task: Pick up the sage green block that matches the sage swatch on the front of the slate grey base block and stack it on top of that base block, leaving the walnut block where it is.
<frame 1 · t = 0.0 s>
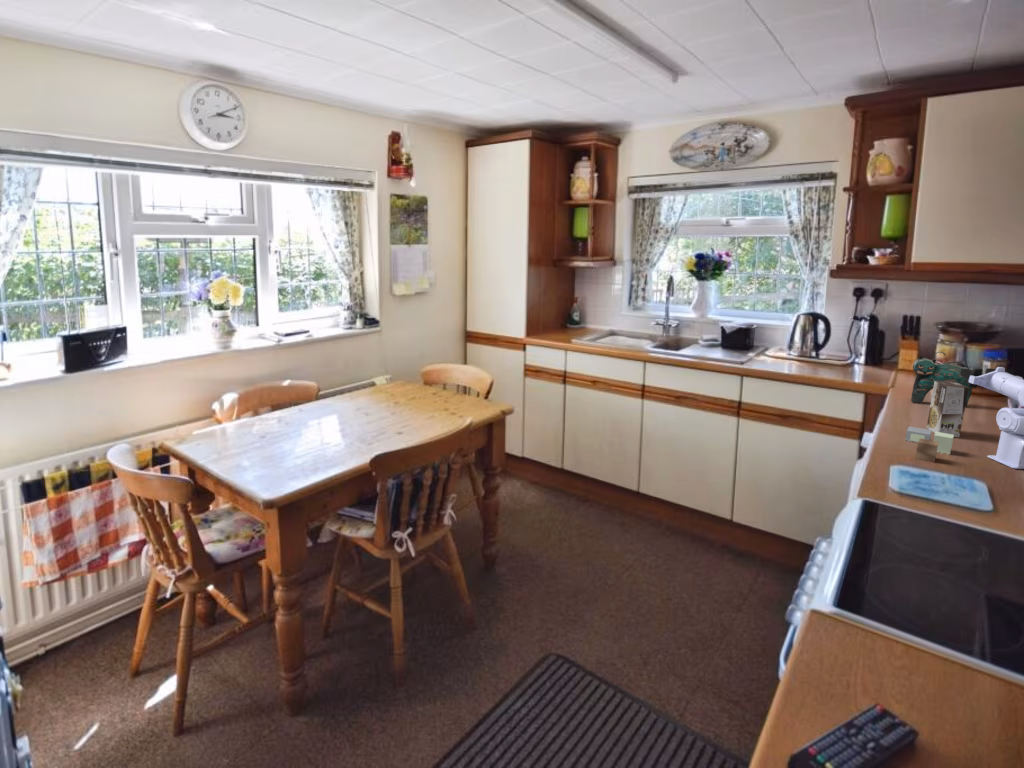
hand: (974, 371, 191), 22 cm above the countertop, tool horizontal, fingers open, 7 cm apart
ceramic cat: (936, 404, 239), on the countertop
coffee box: (942, 433, 203), on the countertop
sage block: (941, 451, 186), on the countertop
walnut block: (925, 458, 179), on the countertop
base block: (917, 441, 195), on the countertop
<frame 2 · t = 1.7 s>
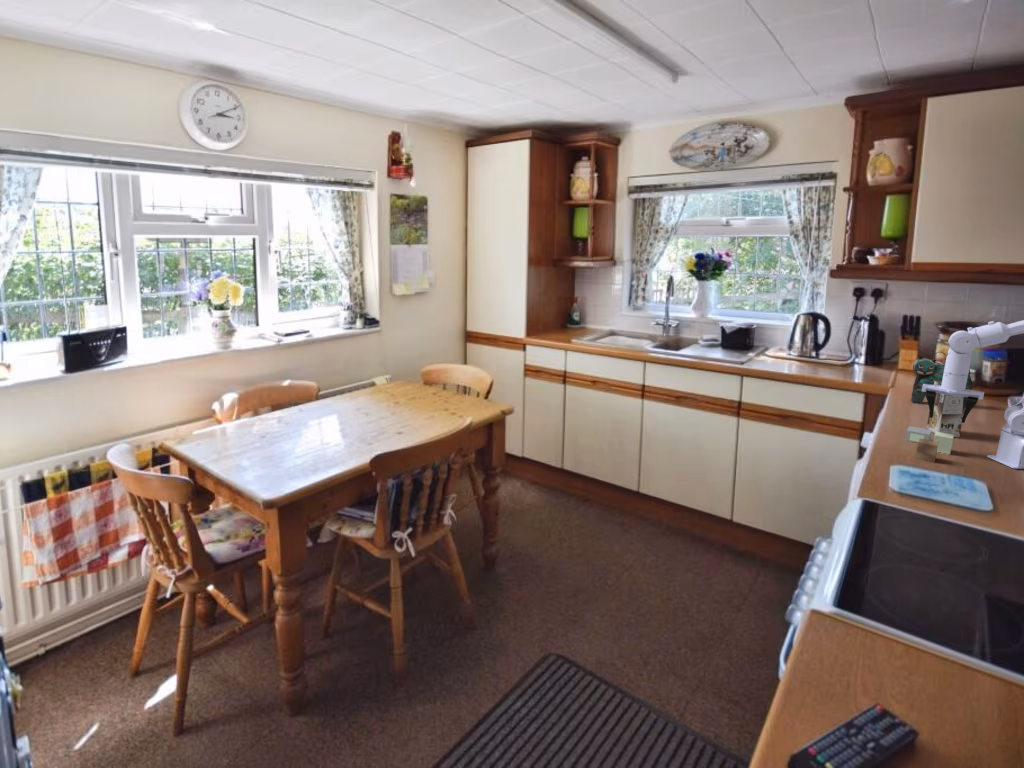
hand: (946, 419, 183), 10 cm above the countertop, tool pointing down, fingers open, 7 cm apart
nothing on the countertop moved.
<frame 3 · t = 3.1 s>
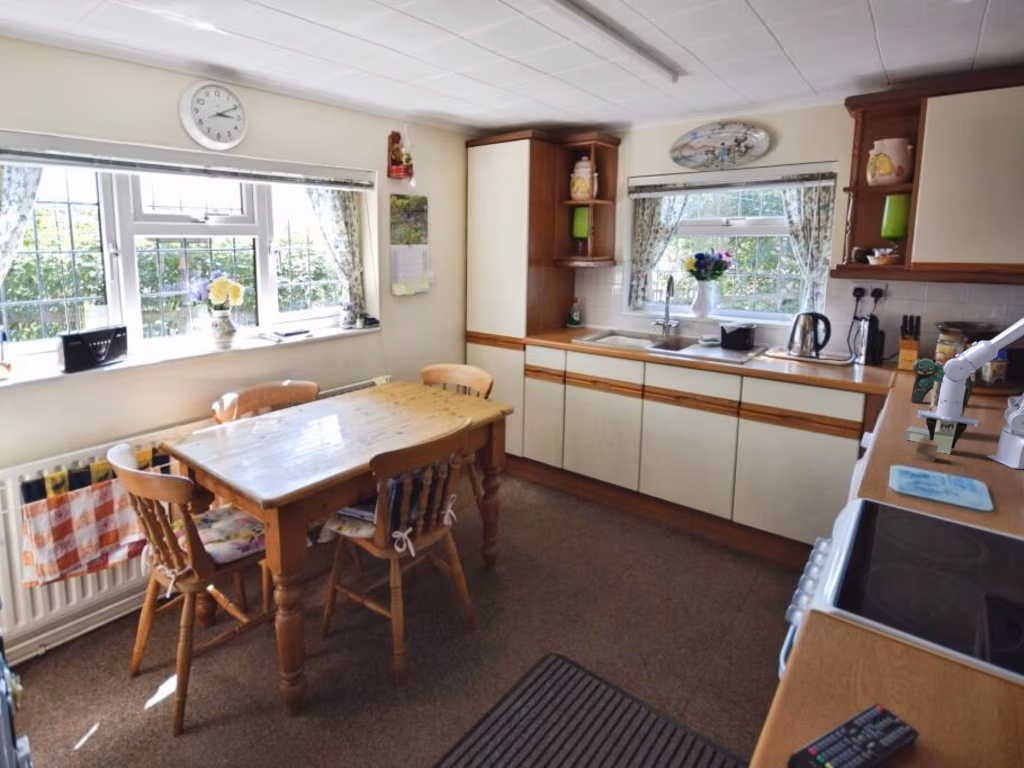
hand: (942, 445, 185), 2 cm above the countertop, tool pointing down, fingers closed on sage block, 4 cm apart
sage block: (941, 450, 185), on the countertop, touching gripper
everything else where it was.
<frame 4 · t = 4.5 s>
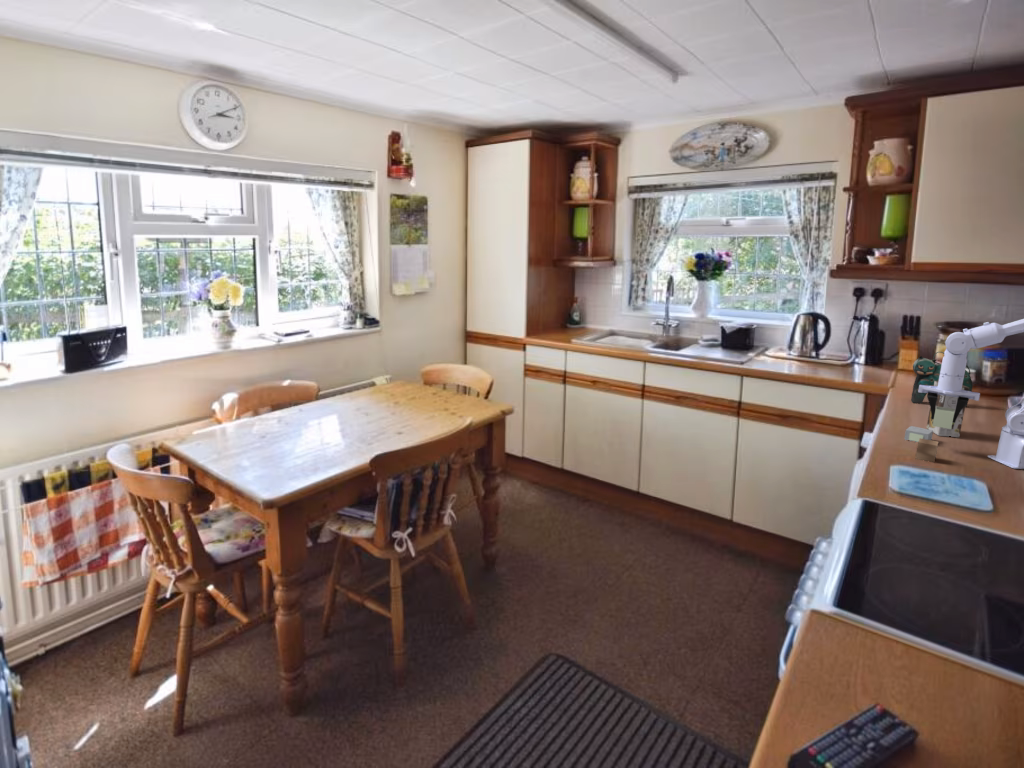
hand: (943, 420, 185), 9 cm above the countertop, tool pointing down, fingers closed on sage block, 4 cm apart
sage block: (942, 425, 185), point 7 cm above the countertop, touching gripper
everything else where it was.
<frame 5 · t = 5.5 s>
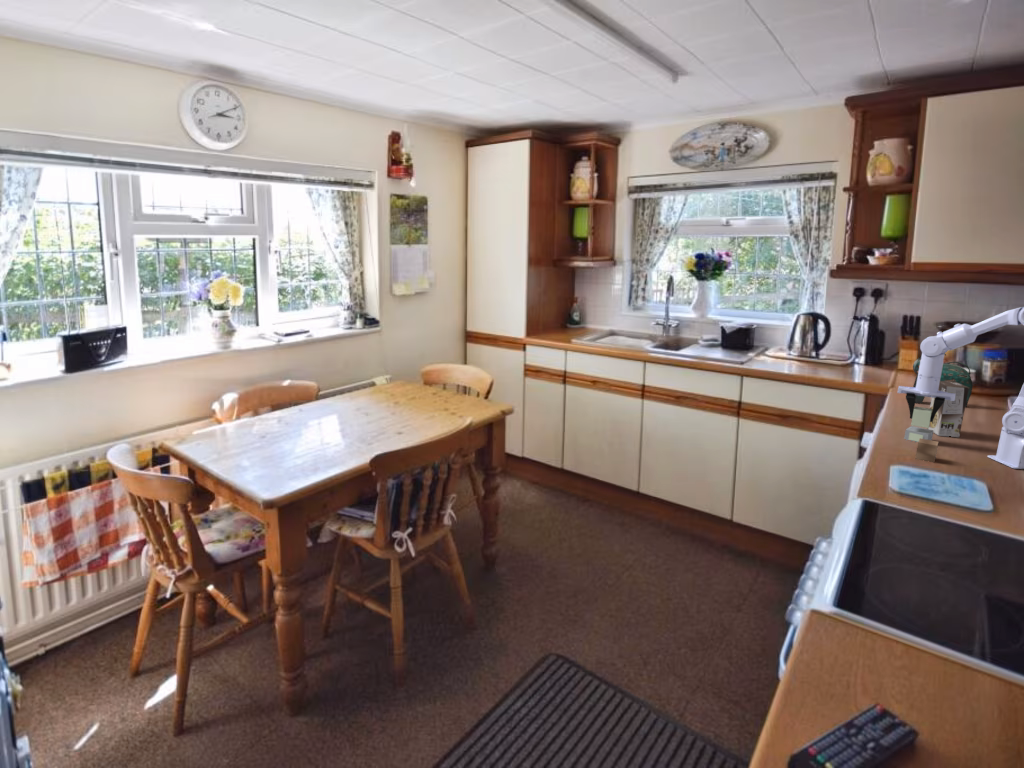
hand: (921, 419, 193), 7 cm above the countertop, tool pointing down, fingers closed on sage block, 4 cm apart
sage block: (920, 425, 193), point 5 cm above the countertop, touching gripper
everything else where it was.
when the fingers open (6 cm above the countertop, at t = 6.1 s): sage block drops 1 cm, point 3 cm above the countertop.
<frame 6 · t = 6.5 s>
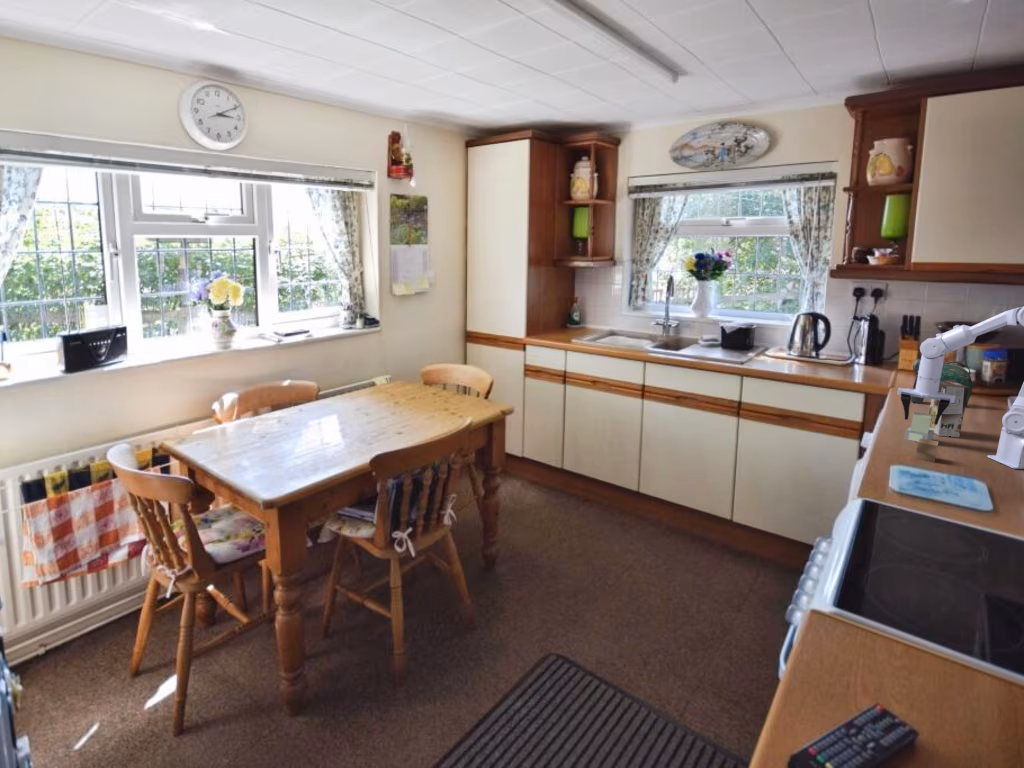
hand: (921, 421, 193), 6 cm above the countertop, tool pointing down, fingers open, 7 cm apart
sage block: (919, 430, 194), point 3 cm above the countertop
everything else where it was.
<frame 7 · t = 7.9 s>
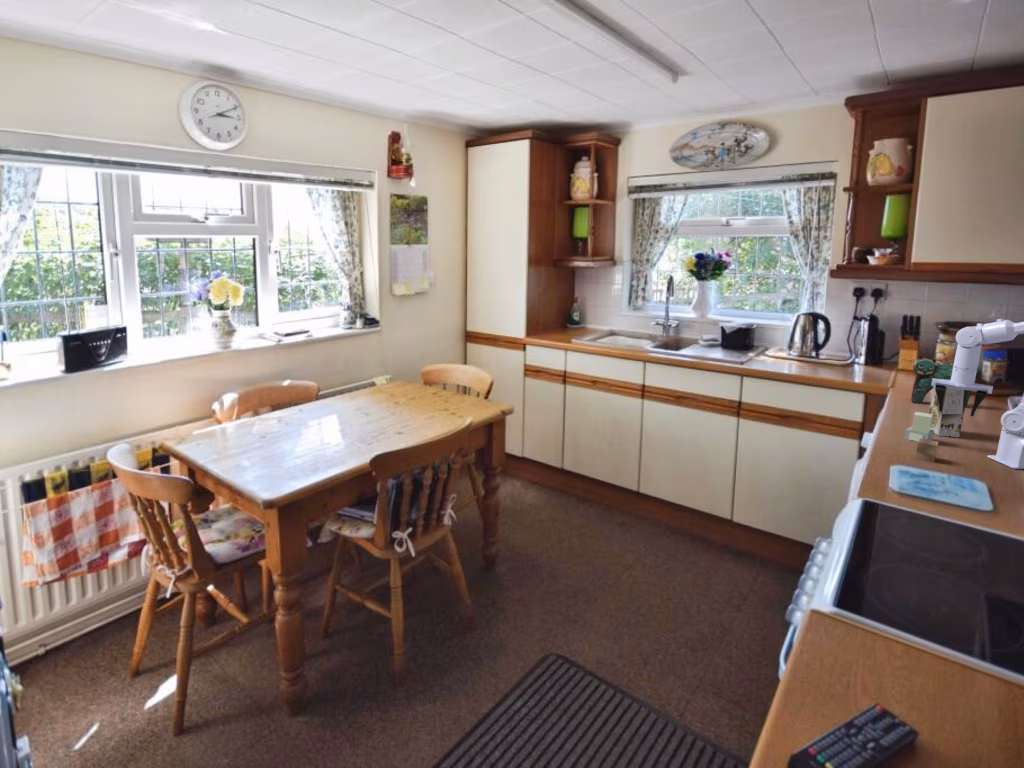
hand: (956, 413, 187), 10 cm above the countertop, tool pointing down, fingers open, 7 cm apart
sage block: (920, 430, 194), point 3 cm above the countertop, touching base block
base block: (918, 440, 196), on the countertop, touching sage block
everything else where it was.
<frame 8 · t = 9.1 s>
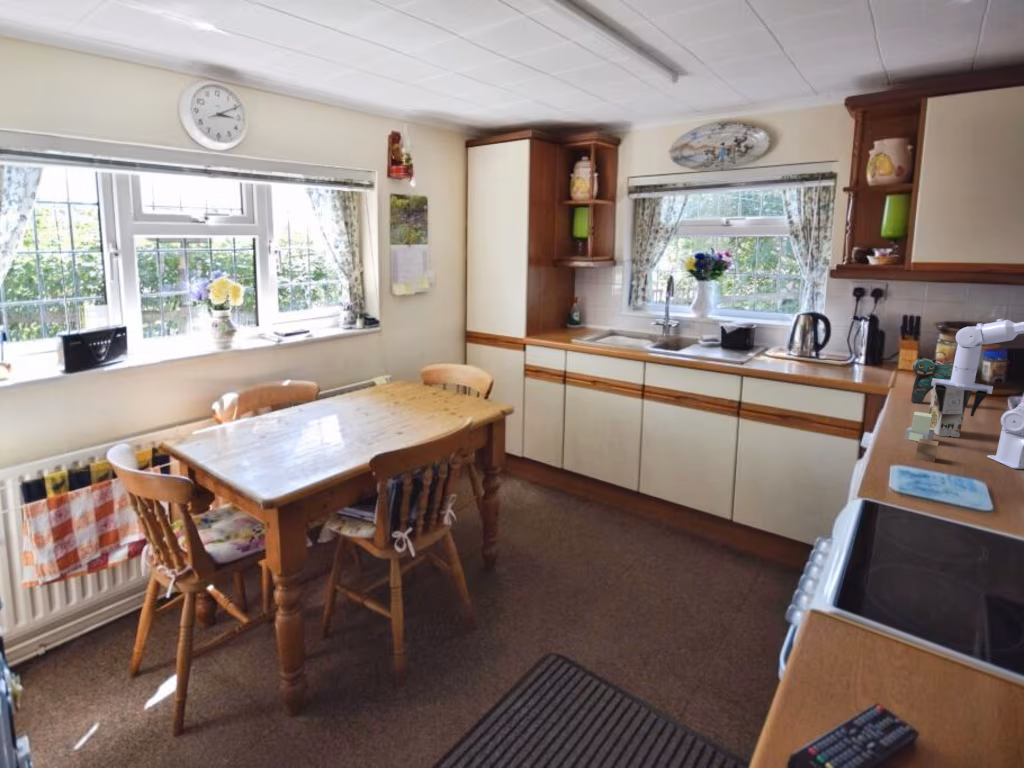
hand: (956, 413, 187), 10 cm above the countertop, tool pointing down, fingers open, 7 cm apart
nothing on the countertop moved.
at the end: sage block 0.4 cm off-centre on the base block, point 3.5 cm above the base block's base; sage block tilted 0°; walnut block moved 0.1 cm from its start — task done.
